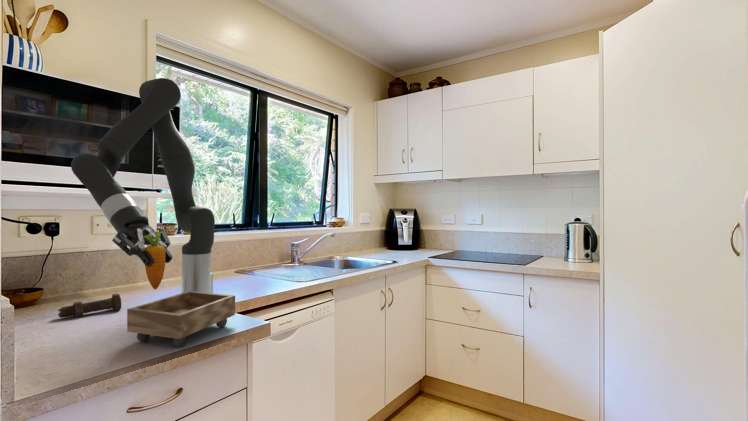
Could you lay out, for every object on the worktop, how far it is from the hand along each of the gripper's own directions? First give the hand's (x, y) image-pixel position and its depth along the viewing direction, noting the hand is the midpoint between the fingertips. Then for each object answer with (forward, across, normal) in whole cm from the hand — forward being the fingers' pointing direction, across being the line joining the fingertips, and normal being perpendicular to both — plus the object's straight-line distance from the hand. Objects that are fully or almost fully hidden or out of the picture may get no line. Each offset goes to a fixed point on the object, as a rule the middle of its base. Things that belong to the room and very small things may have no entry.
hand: (160, 262), depth 94 cm
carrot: (+4, 0, +6) cm, 8 cm away
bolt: (-12, +8, +40) cm, 43 cm away
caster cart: (+16, +4, +11) cm, 20 cm away
